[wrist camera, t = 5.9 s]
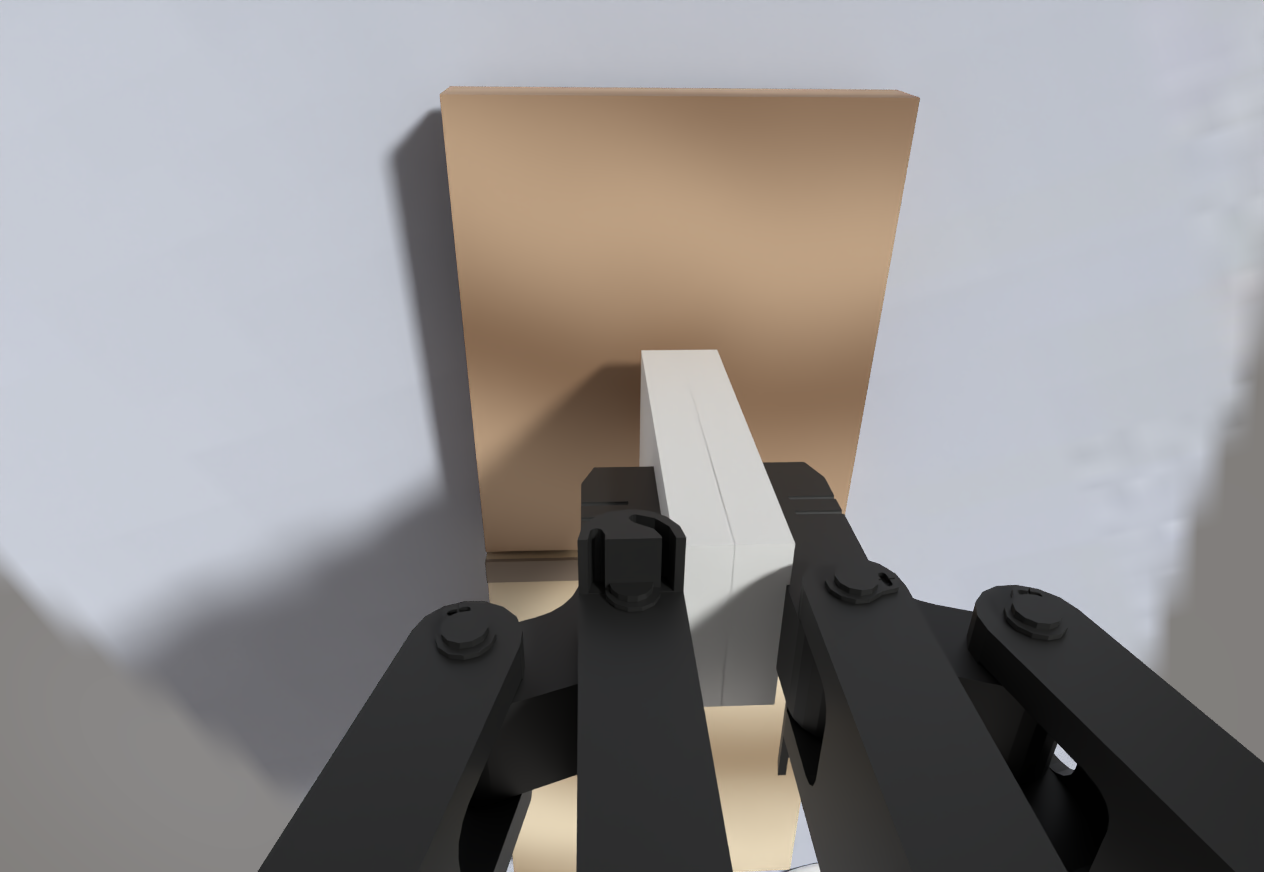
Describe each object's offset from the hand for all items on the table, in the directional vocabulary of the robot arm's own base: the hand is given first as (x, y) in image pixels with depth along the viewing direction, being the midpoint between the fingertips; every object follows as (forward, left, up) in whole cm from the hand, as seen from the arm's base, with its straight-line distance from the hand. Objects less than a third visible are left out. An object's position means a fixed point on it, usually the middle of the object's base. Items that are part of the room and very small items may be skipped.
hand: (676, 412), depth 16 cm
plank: (-1, 0, -2) cm, 2 cm away
